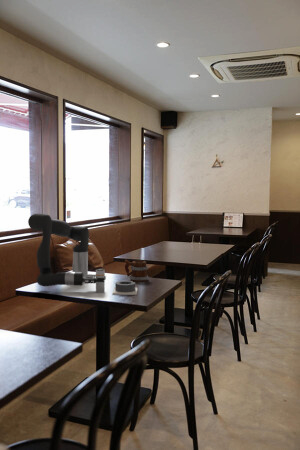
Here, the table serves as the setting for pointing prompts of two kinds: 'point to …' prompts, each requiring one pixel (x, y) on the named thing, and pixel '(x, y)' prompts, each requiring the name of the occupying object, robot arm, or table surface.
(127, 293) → the grey ring on base
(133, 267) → the mug
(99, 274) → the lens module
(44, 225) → the robot arm
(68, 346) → the table surface
